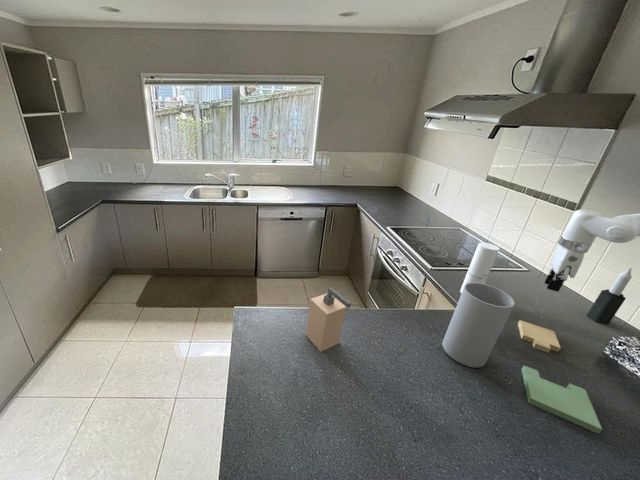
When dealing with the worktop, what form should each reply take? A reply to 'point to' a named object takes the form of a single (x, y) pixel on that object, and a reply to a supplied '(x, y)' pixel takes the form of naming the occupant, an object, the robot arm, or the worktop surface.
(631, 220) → the robot arm
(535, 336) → the small pad
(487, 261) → the cylindrical container
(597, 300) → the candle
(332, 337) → the soap dispenser
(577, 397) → the big pad
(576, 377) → the worktop surface
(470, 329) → the cylinder vase
